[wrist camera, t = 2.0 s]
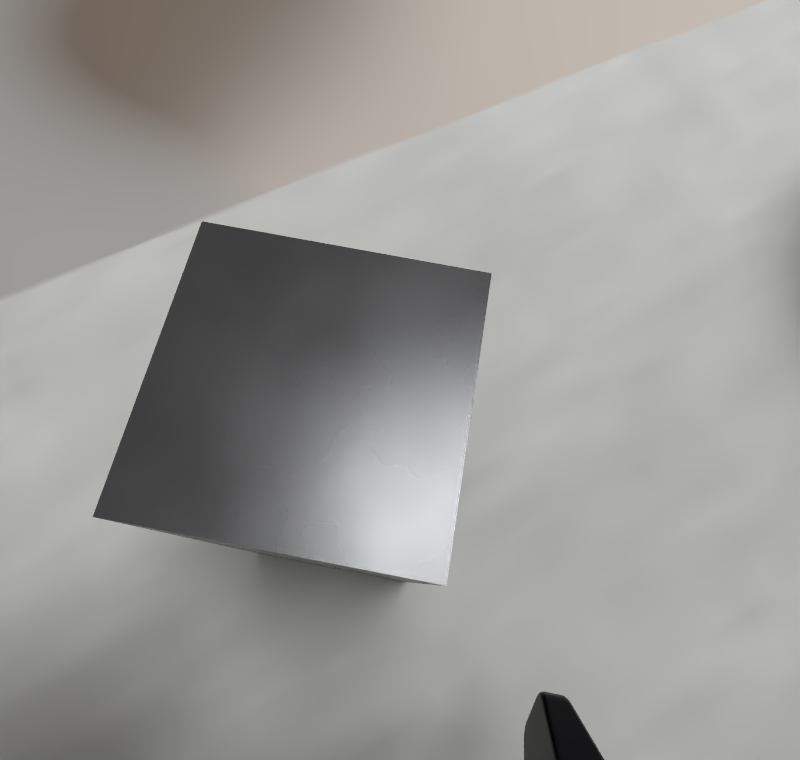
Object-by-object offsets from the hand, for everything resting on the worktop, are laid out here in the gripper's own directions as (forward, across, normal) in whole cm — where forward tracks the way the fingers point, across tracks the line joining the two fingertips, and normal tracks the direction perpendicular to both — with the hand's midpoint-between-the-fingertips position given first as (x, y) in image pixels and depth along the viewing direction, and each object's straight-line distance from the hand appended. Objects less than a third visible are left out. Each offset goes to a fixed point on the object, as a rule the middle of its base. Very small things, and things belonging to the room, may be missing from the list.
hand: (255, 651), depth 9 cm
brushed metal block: (+11, 0, +5) cm, 12 cm away
